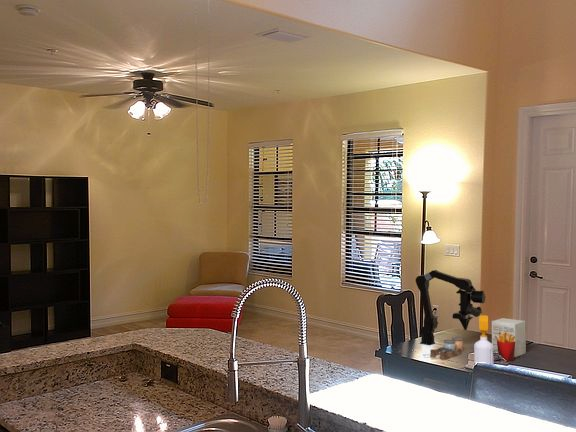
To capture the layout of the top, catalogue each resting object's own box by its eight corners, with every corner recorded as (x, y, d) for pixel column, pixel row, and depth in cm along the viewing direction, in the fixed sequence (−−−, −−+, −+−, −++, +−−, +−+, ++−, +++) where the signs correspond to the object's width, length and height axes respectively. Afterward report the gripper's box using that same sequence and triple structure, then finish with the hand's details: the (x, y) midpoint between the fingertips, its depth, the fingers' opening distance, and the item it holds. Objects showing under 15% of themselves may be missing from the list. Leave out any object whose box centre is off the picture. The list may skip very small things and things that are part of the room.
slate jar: (442, 354, 310) (441, 340, 310) (447, 352, 314) (447, 339, 314) (451, 356, 306) (451, 342, 306) (457, 354, 310) (457, 340, 310)
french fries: (505, 358, 300) (505, 329, 300) (518, 361, 293) (518, 332, 293) (493, 360, 296) (493, 331, 296) (506, 364, 289) (506, 334, 289)
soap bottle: (493, 364, 289) (493, 314, 289) (493, 368, 280) (493, 318, 280) (474, 362, 292) (474, 314, 292) (474, 367, 283) (473, 317, 283)
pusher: (441, 353, 310) (441, 347, 310) (452, 355, 305) (452, 349, 305) (434, 356, 305) (434, 349, 305) (445, 358, 300) (445, 351, 300)
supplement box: (502, 349, 320) (502, 317, 320) (526, 353, 311) (526, 320, 311) (491, 353, 311) (491, 320, 311) (515, 357, 302) (515, 324, 301)
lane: (446, 351, 316) (446, 344, 316) (461, 354, 310) (461, 346, 310) (429, 357, 304) (429, 349, 304) (445, 360, 298) (445, 352, 298)
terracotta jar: (450, 351, 316) (449, 338, 316) (455, 349, 320) (455, 336, 320) (459, 353, 312) (459, 339, 312) (465, 351, 316) (464, 338, 316)
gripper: (470, 305, 310) (471, 334, 310) (486, 301, 323) (487, 329, 323) (451, 303, 318) (452, 331, 318) (468, 299, 331) (468, 326, 331)
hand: (465, 329), depth 322 cm, fingers closed
